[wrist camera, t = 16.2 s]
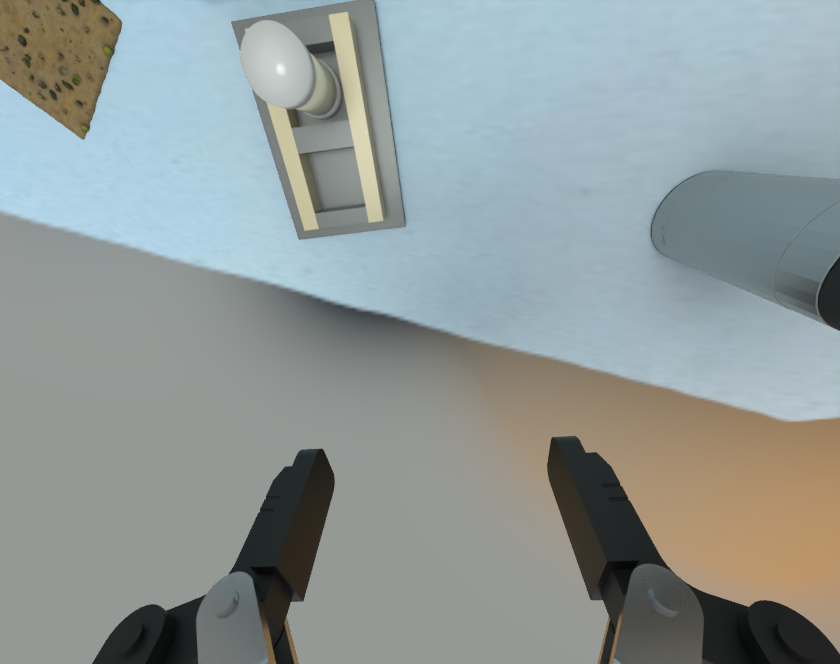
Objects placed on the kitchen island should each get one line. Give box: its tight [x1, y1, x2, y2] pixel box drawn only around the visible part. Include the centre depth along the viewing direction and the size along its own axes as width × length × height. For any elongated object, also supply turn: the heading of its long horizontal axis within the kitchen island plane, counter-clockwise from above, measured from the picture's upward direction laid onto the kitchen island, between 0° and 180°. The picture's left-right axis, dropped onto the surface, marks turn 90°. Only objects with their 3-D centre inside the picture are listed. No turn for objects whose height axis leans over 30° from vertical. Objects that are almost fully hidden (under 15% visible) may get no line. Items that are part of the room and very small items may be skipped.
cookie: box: [0, 0, 122, 139], centre depth 27 cm, size 12×12×1 cm
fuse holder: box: [231, 0, 405, 240], centre depth 29 cm, size 12×18×4 cm, turn 7°
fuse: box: [240, 20, 343, 120], centre depth 24 cm, size 4×4×10 cm
